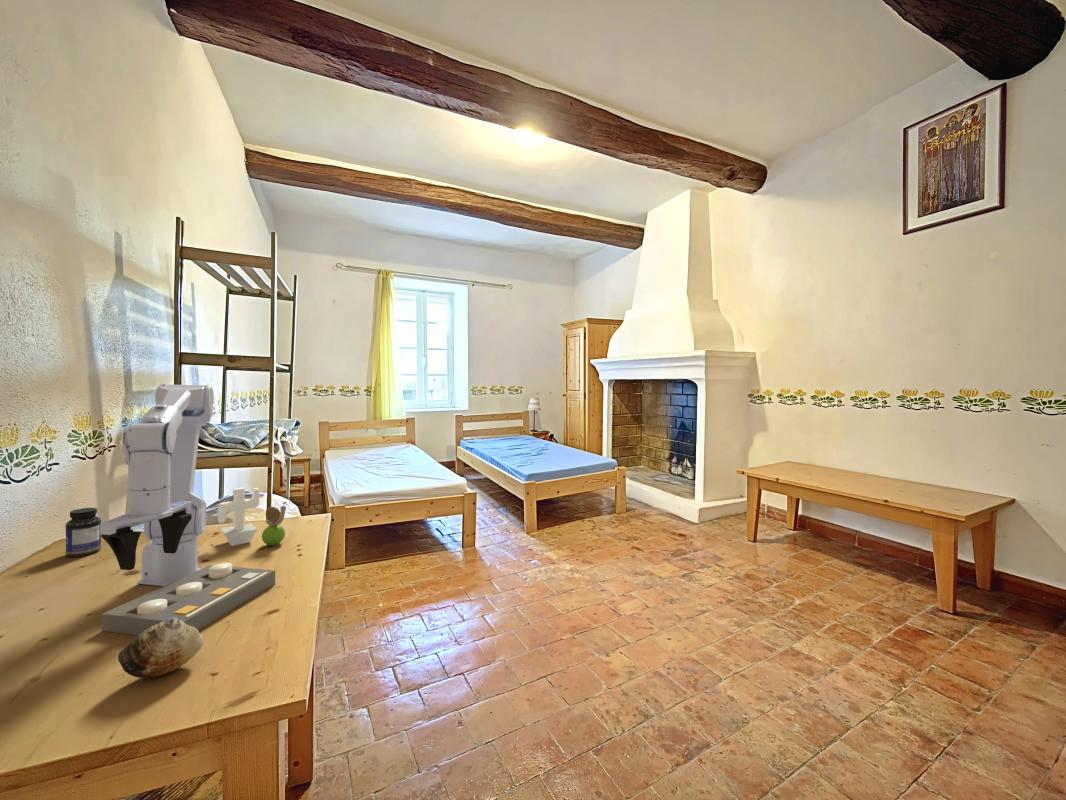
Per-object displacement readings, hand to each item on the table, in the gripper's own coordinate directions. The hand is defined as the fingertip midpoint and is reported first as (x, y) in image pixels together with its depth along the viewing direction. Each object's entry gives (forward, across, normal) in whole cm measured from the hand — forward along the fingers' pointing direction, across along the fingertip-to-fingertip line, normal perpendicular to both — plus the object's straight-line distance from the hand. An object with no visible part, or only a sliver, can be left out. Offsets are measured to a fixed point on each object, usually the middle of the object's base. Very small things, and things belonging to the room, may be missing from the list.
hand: (149, 560), depth 78 cm
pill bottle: (+11, +22, +46) cm, 52 cm away
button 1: (+10, -2, -3) cm, 11 cm away
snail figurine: (+11, +36, +4) cm, 38 cm away
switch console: (+10, +5, -5) cm, 13 cm away
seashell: (+11, -13, -18) cm, 25 cm away
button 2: (+9, +12, -3) cm, 15 cm away
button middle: (+10, +5, -3) cm, 11 cm away
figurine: (+11, +36, +15) cm, 40 cm away
